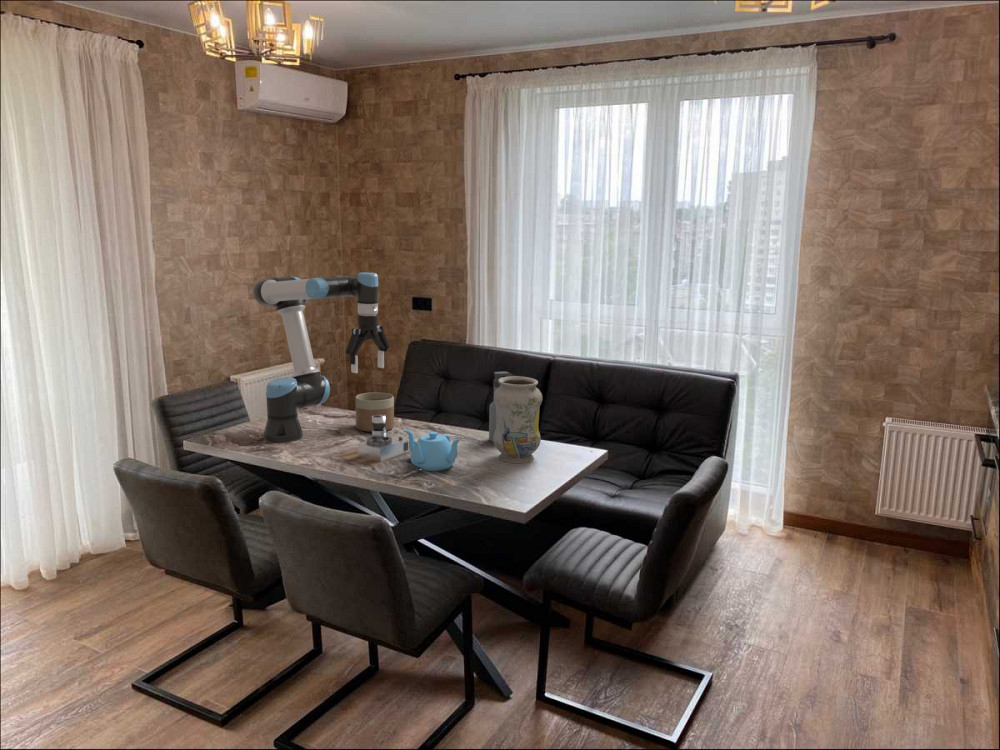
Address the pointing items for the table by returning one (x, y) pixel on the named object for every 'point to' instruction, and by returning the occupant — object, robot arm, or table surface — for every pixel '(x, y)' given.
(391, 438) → the camera body
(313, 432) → the table surface
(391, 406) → the planter
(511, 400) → the vase
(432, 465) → the teapot
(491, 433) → the water bottle
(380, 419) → the lens
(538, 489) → the table surface
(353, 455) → the board
